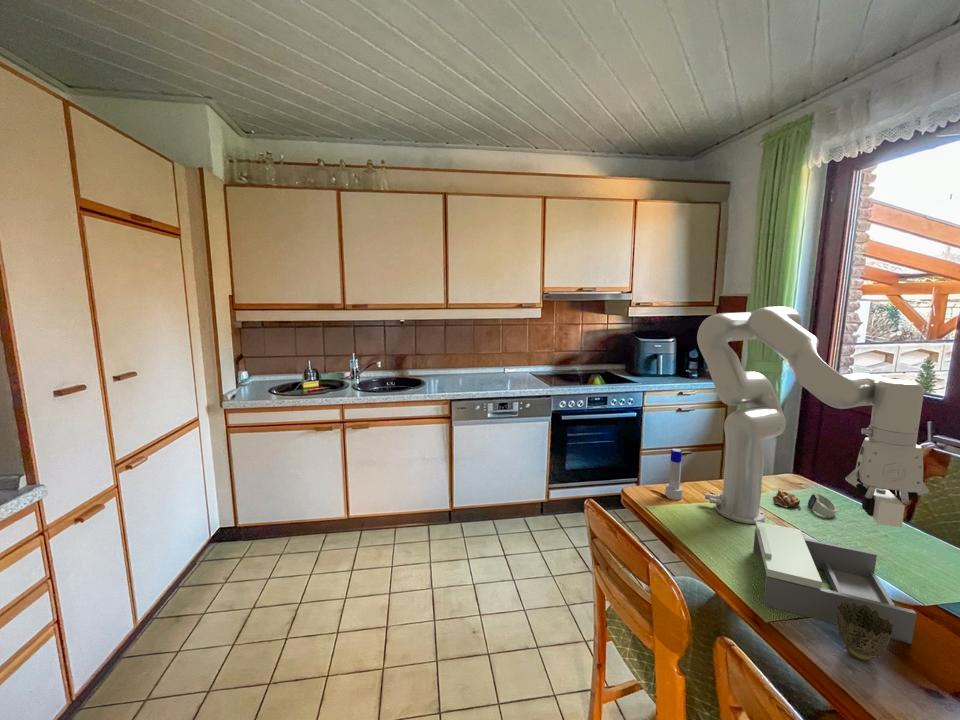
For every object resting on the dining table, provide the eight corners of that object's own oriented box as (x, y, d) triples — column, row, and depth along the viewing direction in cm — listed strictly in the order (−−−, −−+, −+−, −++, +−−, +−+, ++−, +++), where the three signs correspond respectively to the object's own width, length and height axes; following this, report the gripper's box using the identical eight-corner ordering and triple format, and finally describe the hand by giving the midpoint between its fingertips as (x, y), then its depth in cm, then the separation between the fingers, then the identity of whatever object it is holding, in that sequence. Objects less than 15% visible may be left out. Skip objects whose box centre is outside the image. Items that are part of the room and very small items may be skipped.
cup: (821, 640, 80) (826, 602, 79) (857, 637, 81) (863, 599, 80) (859, 675, 73) (865, 633, 72) (899, 672, 74) (905, 630, 72)
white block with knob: (877, 523, 93) (880, 499, 92) (863, 506, 100) (866, 484, 99) (901, 527, 91) (905, 503, 91) (885, 510, 99) (888, 487, 98)
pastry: (795, 496, 138) (796, 485, 138) (802, 513, 128) (804, 501, 127) (769, 491, 141) (770, 481, 141) (774, 507, 131) (776, 497, 130)
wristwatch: (804, 502, 134) (806, 487, 133) (829, 505, 131) (831, 490, 130) (814, 516, 125) (816, 500, 124) (841, 520, 123) (843, 504, 122)
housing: (763, 604, 90) (766, 577, 89) (753, 551, 108) (755, 528, 107) (911, 644, 79) (916, 613, 78) (871, 577, 98) (875, 552, 97)
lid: (766, 576, 89) (768, 564, 88) (755, 527, 107) (756, 517, 107) (821, 589, 85) (822, 577, 84) (799, 536, 103) (800, 526, 103)
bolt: (683, 501, 135) (666, 499, 136) (680, 494, 139) (664, 492, 141) (686, 453, 132) (669, 452, 134) (683, 448, 137) (666, 446, 138)
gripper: (849, 436, 93) (840, 515, 96) (955, 447, 86) (941, 531, 89) (838, 426, 100) (829, 500, 103) (935, 435, 93) (923, 514, 96)
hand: (881, 514), depth 96 cm, fingers closed on white block with knob, 4 cm apart
